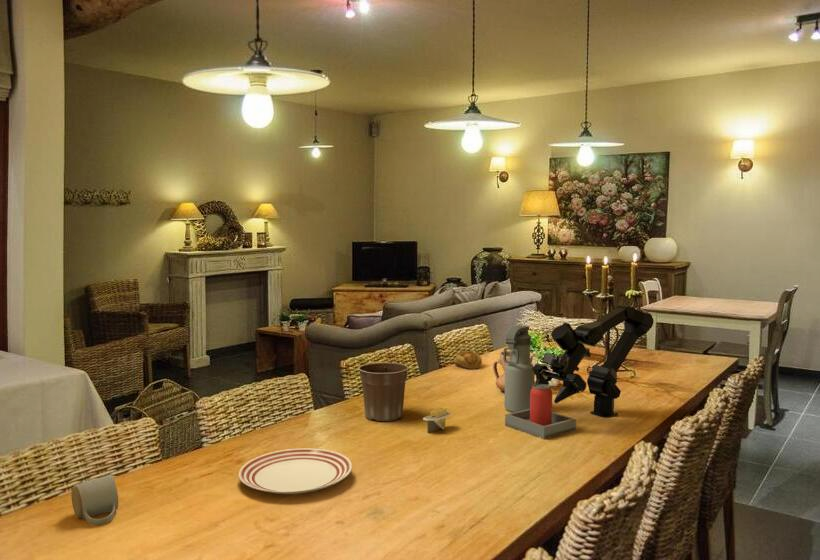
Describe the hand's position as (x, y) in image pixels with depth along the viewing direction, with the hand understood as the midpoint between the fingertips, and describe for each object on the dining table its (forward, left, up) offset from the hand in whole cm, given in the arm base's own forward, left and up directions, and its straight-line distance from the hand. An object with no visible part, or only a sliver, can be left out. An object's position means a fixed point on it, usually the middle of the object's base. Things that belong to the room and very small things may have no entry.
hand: (544, 399), depth 210 cm
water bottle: (-7, -18, -9) cm, 22 cm away
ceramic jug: (-24, -36, -9) cm, 44 cm away
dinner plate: (+80, -7, -9) cm, 81 cm away
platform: (+28, -17, -9) cm, 34 cm away
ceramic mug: (+124, -14, -9) cm, 125 cm away
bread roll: (-36, -77, -9) cm, 86 cm away
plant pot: (+34, -38, -9) cm, 52 cm away
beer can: (+1, 0, -8) cm, 8 cm away
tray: (+2, 0, -9) cm, 9 cm away
